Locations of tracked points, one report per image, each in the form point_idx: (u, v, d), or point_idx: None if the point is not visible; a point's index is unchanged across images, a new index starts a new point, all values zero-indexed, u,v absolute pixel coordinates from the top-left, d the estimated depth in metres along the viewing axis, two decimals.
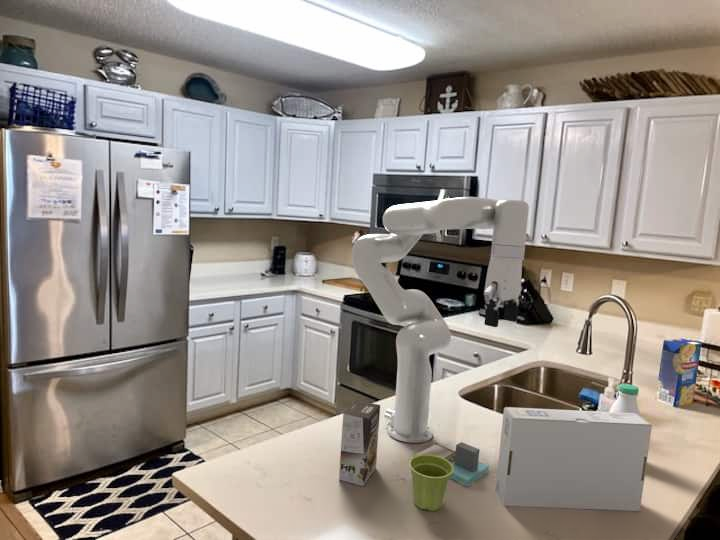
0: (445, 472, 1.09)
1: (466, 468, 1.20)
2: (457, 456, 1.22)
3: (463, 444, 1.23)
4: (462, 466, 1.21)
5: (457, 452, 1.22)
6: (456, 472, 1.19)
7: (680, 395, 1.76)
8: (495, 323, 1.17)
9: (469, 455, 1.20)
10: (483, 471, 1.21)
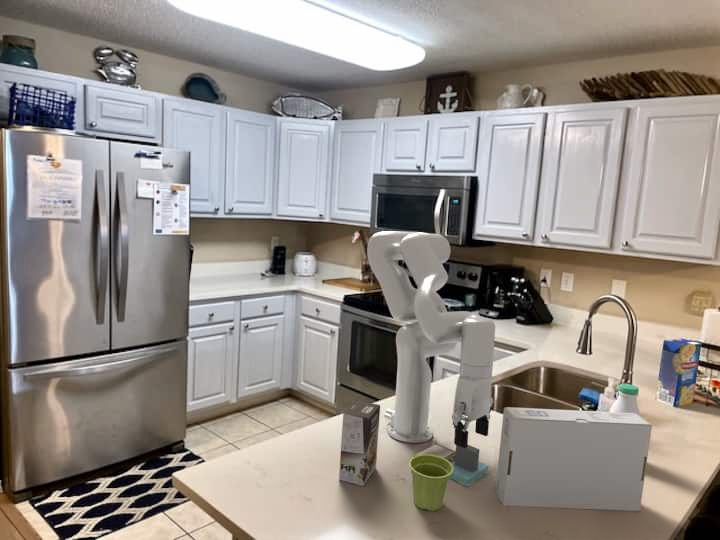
0: (445, 472, 1.09)
1: (466, 468, 1.20)
2: (457, 456, 1.22)
3: None
4: (462, 466, 1.21)
5: (457, 452, 1.22)
6: (456, 472, 1.19)
7: (680, 395, 1.76)
8: (464, 444, 1.16)
9: (469, 455, 1.20)
10: (483, 471, 1.21)
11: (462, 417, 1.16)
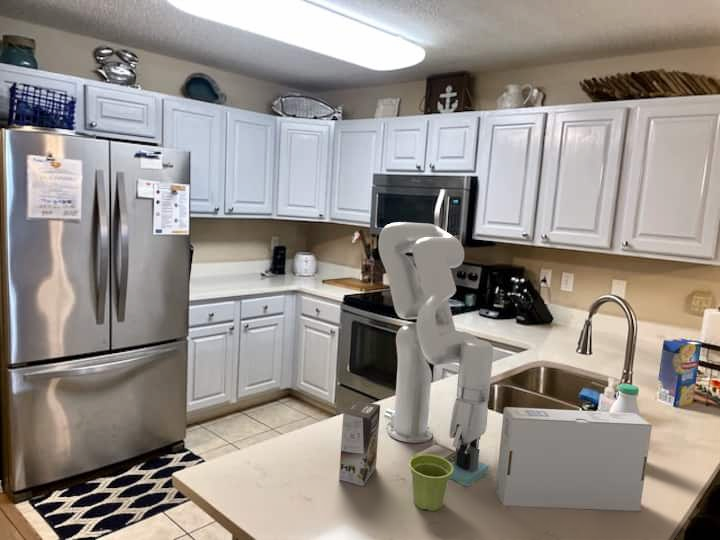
0: (445, 472, 1.09)
1: None
2: None
3: (463, 444, 1.23)
4: None
5: None
6: (456, 472, 1.19)
7: (680, 395, 1.76)
8: (466, 466, 1.20)
9: None
10: (483, 471, 1.21)
11: (461, 441, 1.19)
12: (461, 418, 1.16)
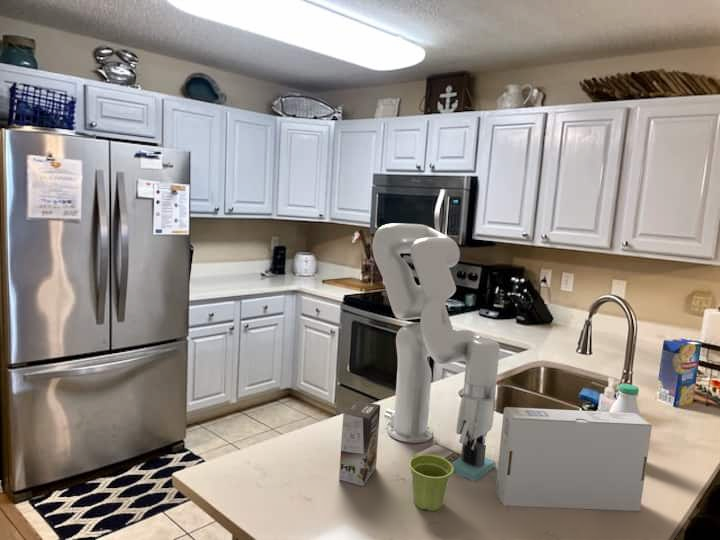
0: (445, 472, 1.09)
1: None
2: None
3: (470, 440, 1.25)
4: None
5: (463, 448, 1.24)
6: (463, 467, 1.21)
7: (680, 395, 1.76)
8: (473, 461, 1.22)
9: None
10: (489, 467, 1.24)
11: (468, 437, 1.21)
12: (468, 414, 1.19)
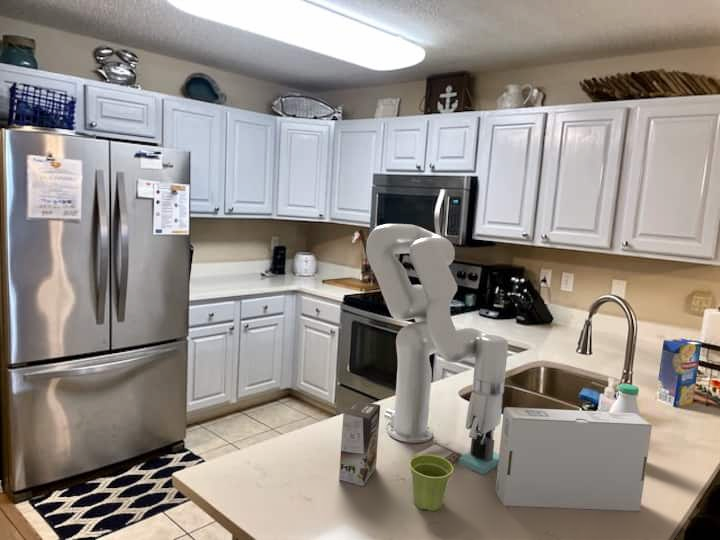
0: (445, 472, 1.09)
1: None
2: None
3: None
4: None
5: (472, 443, 1.28)
6: (472, 461, 1.25)
7: (680, 395, 1.76)
8: (482, 456, 1.25)
9: None
10: (498, 461, 1.27)
11: (477, 432, 1.25)
12: (477, 410, 1.22)
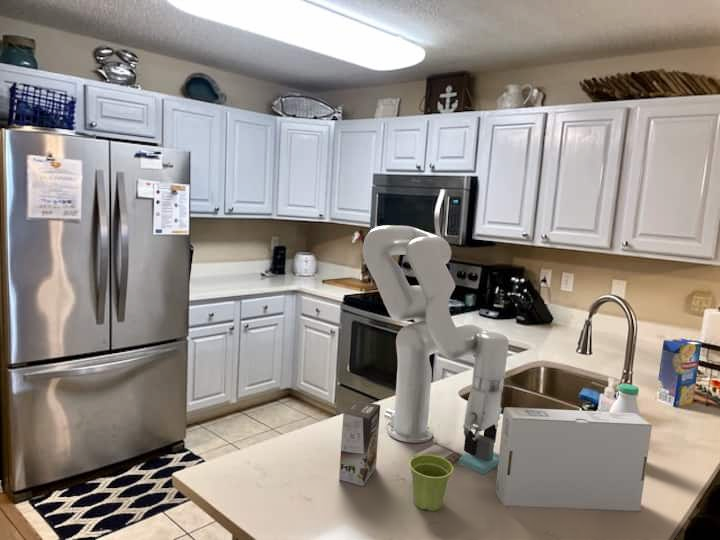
0: (445, 472, 1.09)
1: (482, 458, 1.26)
2: None
3: (478, 435, 1.28)
4: (478, 456, 1.27)
5: None
6: (472, 461, 1.25)
7: (680, 395, 1.76)
8: (473, 452, 1.23)
9: (484, 445, 1.25)
10: (498, 461, 1.27)
11: (473, 426, 1.23)
12: (476, 407, 1.22)
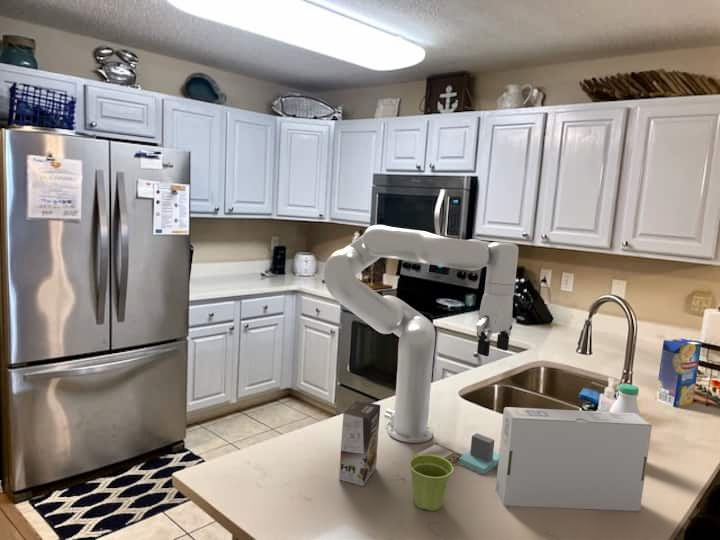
0: (445, 472, 1.09)
1: (482, 458, 1.26)
2: (473, 446, 1.28)
3: (478, 435, 1.28)
4: (478, 456, 1.27)
5: (472, 443, 1.28)
6: (472, 461, 1.25)
7: (680, 395, 1.76)
8: (486, 353, 1.31)
9: (484, 445, 1.25)
10: (498, 461, 1.27)
11: (485, 329, 1.31)
12: (488, 310, 1.30)
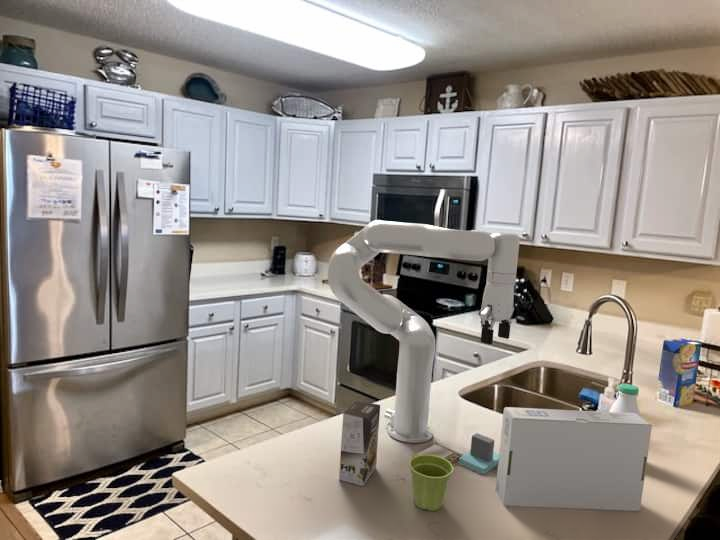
0: (445, 472, 1.09)
1: (482, 458, 1.26)
2: (473, 446, 1.28)
3: (478, 435, 1.28)
4: (478, 456, 1.27)
5: (472, 443, 1.28)
6: (472, 461, 1.25)
7: (680, 395, 1.76)
8: (490, 341, 1.33)
9: (484, 445, 1.25)
10: (498, 461, 1.27)
11: (488, 318, 1.34)
12: (491, 299, 1.33)
